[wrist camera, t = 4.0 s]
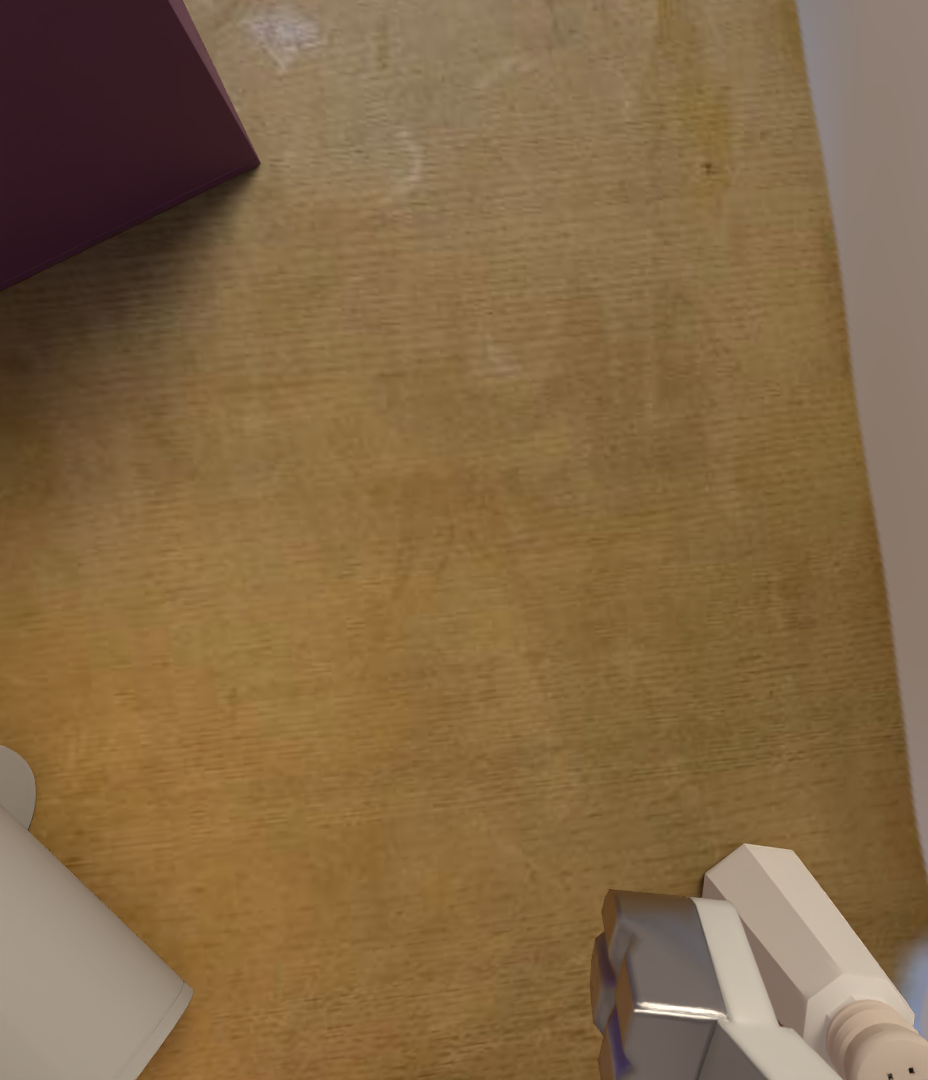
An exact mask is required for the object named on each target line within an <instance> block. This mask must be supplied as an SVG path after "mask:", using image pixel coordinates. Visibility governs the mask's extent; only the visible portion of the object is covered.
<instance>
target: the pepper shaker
mask: <svg viewBox="0 0 928 1080" xmlns="http://www.w3.org/2000/svg"><path fill="white" fill-rule="evenodd" d="M702 898H706V899H716V900H726V901H730V902H731V903H732V904H733V905H734V906H735V907H736V909H737V912H738V914H739V917H740V920H741V923H742V925H743V928H744V931H745V934H746V936H747V939H748V942H749V944H750V947H751V950H752V953H753V955H754V958H755V961H756V963H757V966H758V969H759V972H760V974H761V977H762V980H763V982H764V985H765V988H766V991H767V993H768V996H769V999H770V1002H771V1004H772V1007H773V1010H774V1012H775V1015H776V1018H777V1019H778V1020H779V1021H780V1023H781V1024H782V1025H783V1026H784V1027H786V1028H793V1029H794V1030H795V1031H796V1032H797V1033H798V1034H799V1035H800V1036H801V1037H802V1038H803V1039H804V1040H805V1041H806V1042H807V1043H808V1044H809V1045H810V1046H811V1048H812V1049H813V1050H814V1051H815V1052H816V1053H817V1054H818V1055H819V1056H820V1057H821V1058H822V1059H823V1060H824V1061H825V1062H826V1063H827V1064H828V1065H829V1066H830V1067H831V1068H832V1069H833V1070H834V1071H835V1072H836V1073H837V1074H838V1075H839V1076H840V1077H841V1078H842V1079H843V1080H928V1041H927V1040H925V1039H924V1038H923V1037H921V1036H920V1034H919V1033H918V1032H917V1031H916V1030H915V1029H914V1028H913V1026H914V1018H915V1015H914V1013H913V1011H912V1010H911V1008H910V1007H909V1005H908V1004H907V1002H906V1001H905V999H904V998H903V996H902V995H901V994H900V992H899V991H898V990H897V988H896V987H895V986H894V984H893V983H892V982H891V980H890V979H889V978H888V976H887V975H886V974H885V972H884V971H883V970H882V968H881V967H880V966H879V964H878V963H877V962H876V960H875V959H874V958H873V956H872V955H871V953H870V952H869V951H868V949H867V948H866V947H865V945H864V944H863V943H862V941H861V940H860V939H859V937H858V936H857V935H856V933H855V932H854V931H853V929H852V928H851V927H850V925H849V924H848V923H847V921H846V920H845V919H844V917H843V916H842V915H841V913H840V912H839V910H838V909H837V908H836V906H835V905H834V904H833V902H832V901H831V900H830V898H829V897H828V896H827V894H826V893H825V892H824V890H823V889H822V888H821V886H820V885H819V884H818V882H817V881H816V880H815V879H814V877H813V876H812V875H811V873H810V872H809V871H808V869H807V868H806V867H805V866H804V864H803V863H802V862H801V860H800V859H799V858H798V856H797V855H796V854H795V853H794V851H793V850H788V849H781V848H774V847H767V846H759V845H752V844H745V843H744V844H742V845H741V846H740V847H738V848H737V849H736V850H735V851H733V852H732V853H731V854H729V855H728V856H727V857H725V858H724V859H723V860H721V861H720V862H719V863H717V864H716V865H715V866H713V867H712V868H711V869H709V870H708V871H707V872H706V873H705V877H704V885H703V892H702Z"/></svg>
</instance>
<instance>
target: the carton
mask: <svg viewBox="0 0 928 1080" xmlns="http://www.w3.org/2000/svg"><path fill="white" fill-rule="evenodd" d="M259 164H260V161H259V159H258V156H257V154H256V152H255V150H254V148H253V146H252V144H251V142H250V140H249V138H248V136H247V134H246V131H245V129H244V127H243V125H242V123H241V121H240V119H239V117H238V115H237V113H236V111H235V109H234V106H233V104H232V102H231V100H230V98H229V96H228V94H227V92H226V90H225V88H224V86H223V84H222V82H221V79H220V77H219V75H218V73H217V71H216V69H215V67H214V65H213V63H212V61H211V59H210V57H209V54H208V52H207V50H206V48H205V46H204V44H203V42H202V40H201V38H200V36H199V34H198V32H197V29H196V27H195V25H194V23H193V21H192V19H191V17H190V15H189V13H188V11H187V9H186V7H185V5H184V2H183V0H0V291H2V290H4V289H6V288H8V287H10V286H12V285H14V284H16V283H18V282H20V281H22V280H24V279H26V278H28V277H30V276H32V275H34V274H36V273H38V272H40V271H42V270H44V269H47V268H49V267H51V266H53V265H55V264H57V263H59V262H61V261H63V260H65V259H67V258H69V257H71V256H73V255H75V254H77V253H79V252H81V251H83V250H85V249H87V248H89V247H91V246H94V245H96V244H98V243H100V242H102V241H104V240H106V239H108V238H110V237H112V236H114V235H116V234H118V233H120V232H122V231H124V230H126V229H128V228H130V227H132V226H134V225H136V224H138V223H141V222H143V221H145V220H147V219H149V218H151V217H153V216H155V215H157V214H159V213H161V212H163V211H165V210H167V209H169V208H171V207H173V206H175V205H177V204H179V203H181V202H183V201H185V200H188V199H190V198H192V197H194V196H196V195H198V194H200V193H202V192H204V191H206V190H208V189H210V188H212V187H214V186H216V185H218V184H220V183H222V182H224V181H226V180H228V179H230V178H232V177H235V176H237V175H239V174H241V173H243V172H245V171H247V170H249V169H251V168H253V167H255V166H257V165H259Z"/></svg>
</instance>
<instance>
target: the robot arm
mask: <svg viewBox="0 0 928 1080" xmlns="http://www.w3.org/2000/svg"><path fill="white" fill-rule="evenodd" d="M602 919H603V926H604V932H603V933H602V934H600V935H599V936H598V937H596V938H595V943H594V949H593V954H592V960H591V975H590V992H591V1006H592V1015H593V1023H594V1024H595V1025H596V1027H597V1028H598V1029H599V1030H600V1032H601V1033H602V1034H603V1036H604V1037H603V1041H602V1045H601V1050H600V1054H599V1058H598V1064H599V1071H600V1079H601V1080H843V1079H842V1078H841V1077H840V1076H839V1075H838V1074H837V1073H836V1072H835V1071H834V1070H833V1069H832V1068H831V1067H830V1066H829V1065H828V1064H827V1063H826V1062H825V1061H824V1060H823V1059H822V1058H821V1057H820V1056H819V1055H818V1054H817V1053H816V1052H815V1051H814V1050H813V1049H812V1048H811V1046H810V1045H809V1044H808V1043H807V1042H806V1041H805V1040H804V1039H803V1038H802V1037H801V1036H800V1035H799V1034H798V1033H797V1032H796V1031H795V1030H794V1029H793V1028H786V1027H780V1026H779V1023H778V1021H777V1018H776V1015H775V1012H774V1010H773V1007H772V1004H771V1002H770V999H769V996H768V993H767V991H766V988H765V985H764V982H763V980H762V977H761V974H760V972H759V969H758V966H757V963H756V961H755V958H754V955H753V953H752V950H751V947H750V944H749V942H748V939H747V936H746V934H745V931H744V928H743V925H742V923H741V920H740V917H739V914H738V912H737V909H736V907H735V906H734V905H733V904H732V903H731V902H730V901H726V900H716V899H706V898H695V897H689V898H687V897H685V896H675V895H665V894H654V893H644V892H633V891H622V890H612V889H609V891H608V892H607V894H606V896H605V899H604V903H603V908H602Z"/></svg>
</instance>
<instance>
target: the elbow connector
mask: <svg viewBox="0 0 928 1080" xmlns="http://www.w3.org/2000/svg"><path fill="white" fill-rule="evenodd" d="M35 802H36V786H35V779H34V776H33V773H32V770H31V768H30V766H29V765H28V764H27V762H26V761H25V759H24V758H22V757H21V756H20V755H19V754H18V753H16V752H15V751H13V750H11V749H9V748H7V747H4V746H1V745H0V1080H136V1078H137V1077H138V1076H139V1074H140V1073H141V1072H142V1070H143V1069H144V1068H145V1067H146V1065H147V1064H148V1063H149V1061H150V1060H151V1058H152V1057H153V1056H154V1054H155V1053H156V1052H157V1050H158V1049H159V1048H160V1046H161V1045H162V1043H163V1042H164V1041H165V1039H166V1038H167V1036H168V1035H169V1034H170V1032H171V1031H172V1029H173V1028H174V1026H175V1025H176V1023H177V1022H178V1020H179V1019H180V1017H181V1016H182V1014H183V1012H184V1011H185V1009H186V1007H187V1006H188V1004H189V1002H190V1000H191V998H192V996H193V992H194V991H193V989H192V988H191V987H190V986H189V985H188V984H187V983H186V982H185V981H183V980H182V978H181V977H179V976H178V975H177V974H176V973H175V972H174V971H173V970H172V969H171V968H170V967H169V966H168V965H167V964H166V963H165V962H164V961H163V960H162V959H161V958H160V957H159V956H158V955H157V954H156V953H155V952H154V951H153V950H151V949H150V948H149V947H148V946H147V945H146V944H145V943H144V942H143V941H142V940H141V939H140V938H139V937H138V936H137V935H136V934H135V933H134V932H133V931H132V930H131V929H130V928H129V927H128V926H127V925H126V924H124V923H123V922H122V921H121V920H120V919H119V918H118V917H117V916H116V915H115V914H114V913H113V912H112V911H111V910H110V909H109V908H108V907H107V906H106V905H105V904H104V903H103V902H102V901H101V900H100V899H99V898H97V897H96V896H95V895H94V894H93V893H92V892H91V891H90V890H89V889H88V888H87V887H86V886H85V885H84V884H83V883H82V882H81V881H80V880H79V879H78V878H77V877H76V876H75V875H74V874H73V873H72V872H70V871H69V870H68V869H67V868H66V867H65V866H64V865H63V864H62V863H61V862H60V861H59V860H58V859H57V858H56V857H55V856H54V855H53V854H52V853H51V852H50V851H49V850H48V849H47V848H46V847H45V846H43V845H42V844H41V843H40V842H39V841H38V840H37V839H36V838H35V837H34V836H33V835H32V834H31V833H30V832H29V831H28V828H29V826H30V823H31V820H32V817H33V812H34V807H35Z"/></svg>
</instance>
